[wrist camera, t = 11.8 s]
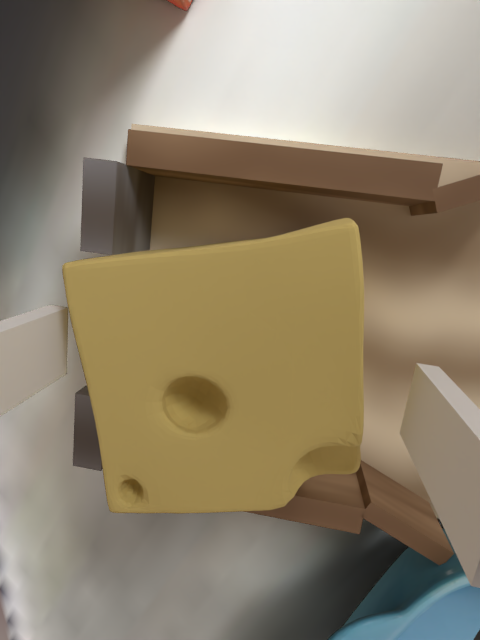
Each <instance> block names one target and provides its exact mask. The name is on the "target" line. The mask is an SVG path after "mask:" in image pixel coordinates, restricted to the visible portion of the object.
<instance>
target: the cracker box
mask: <svg viewBox="0 0 480 640" xmlns="http://www.w3.org/2000/svg"><path fill="white" fill-rule="evenodd" d="M167 1H169V2H170V3H172V4H174V5H175V6H177V7H178V8H181V9H183V10H184V11H187V10H188V8H189V6H190V5H191V2H192V0H167Z"/></svg>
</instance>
